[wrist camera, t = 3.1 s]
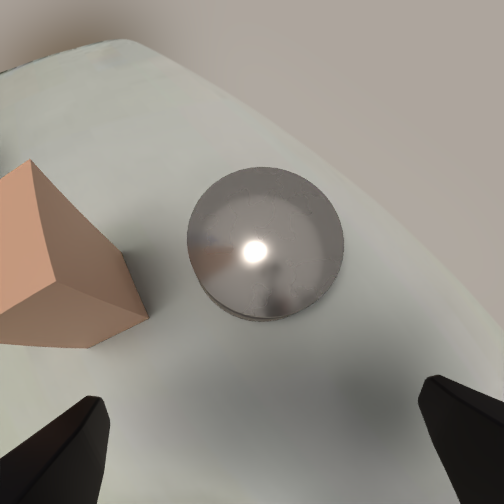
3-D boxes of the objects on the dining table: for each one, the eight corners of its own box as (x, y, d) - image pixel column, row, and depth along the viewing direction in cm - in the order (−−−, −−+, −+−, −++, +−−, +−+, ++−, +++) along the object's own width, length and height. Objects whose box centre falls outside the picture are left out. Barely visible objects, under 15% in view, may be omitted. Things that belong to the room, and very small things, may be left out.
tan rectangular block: (87, 348, 19) (-39, 339, 7) (63, 282, 20) (-54, 222, 8) (149, 318, 20) (56, 280, 8) (121, 251, 21) (30, 158, 9)
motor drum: (232, 346, 19) (233, 346, 16) (172, 226, 21) (162, 204, 18) (350, 280, 21) (370, 268, 18) (285, 174, 23) (293, 148, 20)
